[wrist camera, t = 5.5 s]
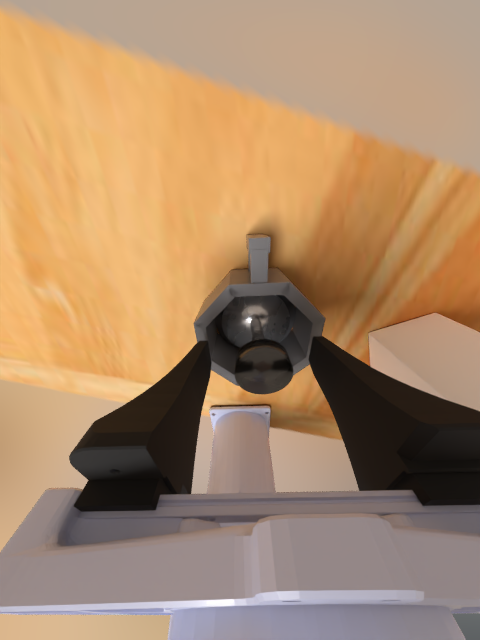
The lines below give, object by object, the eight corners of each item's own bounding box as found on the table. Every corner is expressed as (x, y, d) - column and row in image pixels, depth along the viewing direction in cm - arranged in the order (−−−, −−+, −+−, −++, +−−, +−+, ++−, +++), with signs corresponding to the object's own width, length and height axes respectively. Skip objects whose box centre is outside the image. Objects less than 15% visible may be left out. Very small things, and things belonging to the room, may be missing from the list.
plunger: (285, 345, 17) (308, 405, 11) (225, 347, 17) (217, 408, 11) (291, 286, 14) (326, 329, 8) (218, 290, 14) (205, 334, 9)
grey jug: (296, 352, 18) (310, 383, 15) (212, 355, 18) (206, 386, 15) (315, 231, 13) (344, 234, 9) (194, 237, 13) (176, 242, 9)
